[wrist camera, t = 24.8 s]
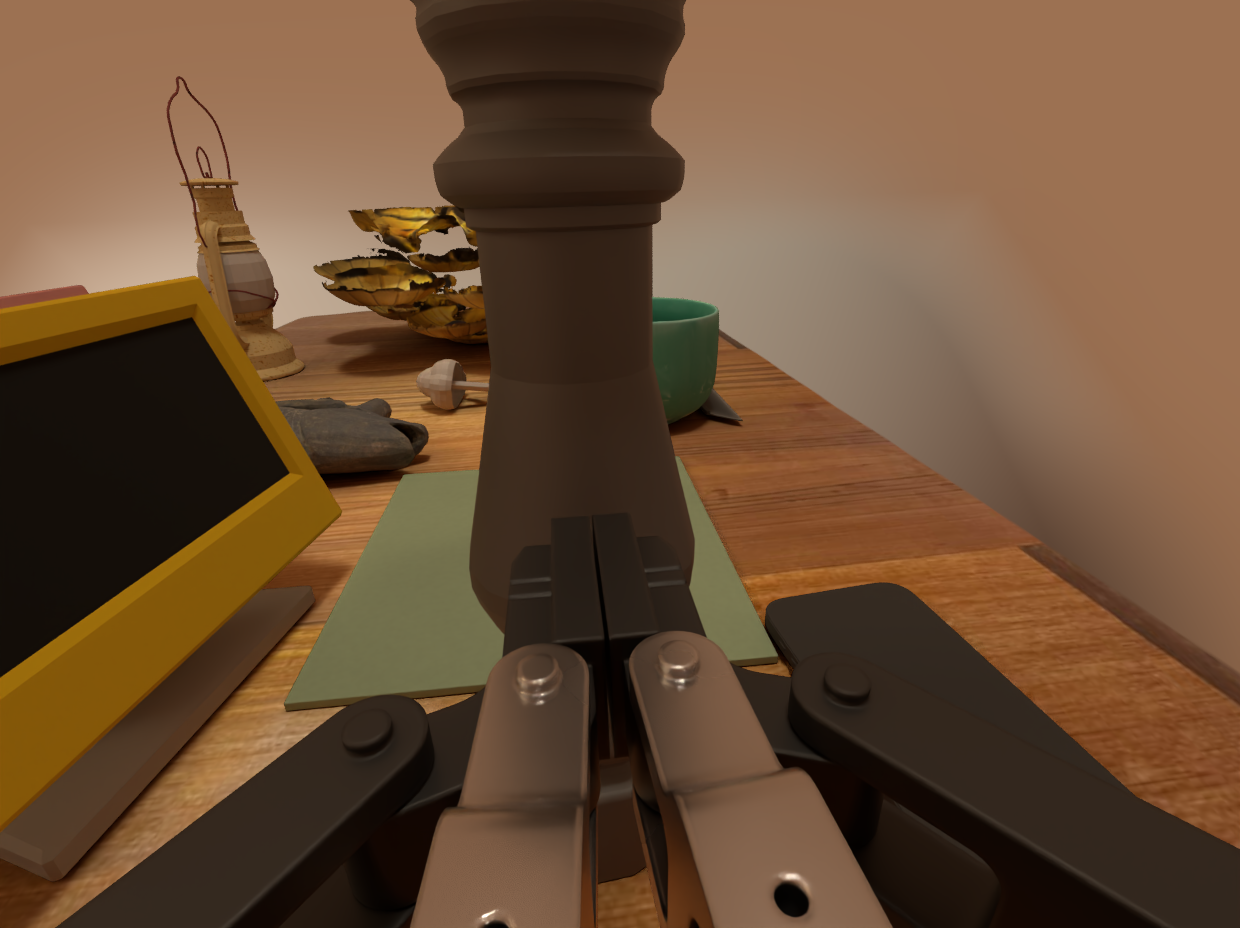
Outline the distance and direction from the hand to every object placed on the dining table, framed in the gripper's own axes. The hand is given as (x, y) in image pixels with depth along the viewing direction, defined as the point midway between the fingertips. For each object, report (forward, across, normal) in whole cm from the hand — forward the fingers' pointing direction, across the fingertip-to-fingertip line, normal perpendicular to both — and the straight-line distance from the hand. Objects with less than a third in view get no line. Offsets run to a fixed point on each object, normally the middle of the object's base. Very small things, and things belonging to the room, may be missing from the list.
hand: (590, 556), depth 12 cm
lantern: (+64, +36, +12) cm, 75 cm away
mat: (+20, +2, +12) cm, 23 cm away
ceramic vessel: (+36, +23, +12) cm, 45 cm away
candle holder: (+4, 0, +12) cm, 13 cm away
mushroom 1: (+78, +11, +12) cm, 79 cm away
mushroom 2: (+48, +8, +12) cm, 50 cm away
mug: (+41, -5, +12) cm, 43 cm away
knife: (+44, -14, +12) cm, 48 cm away
